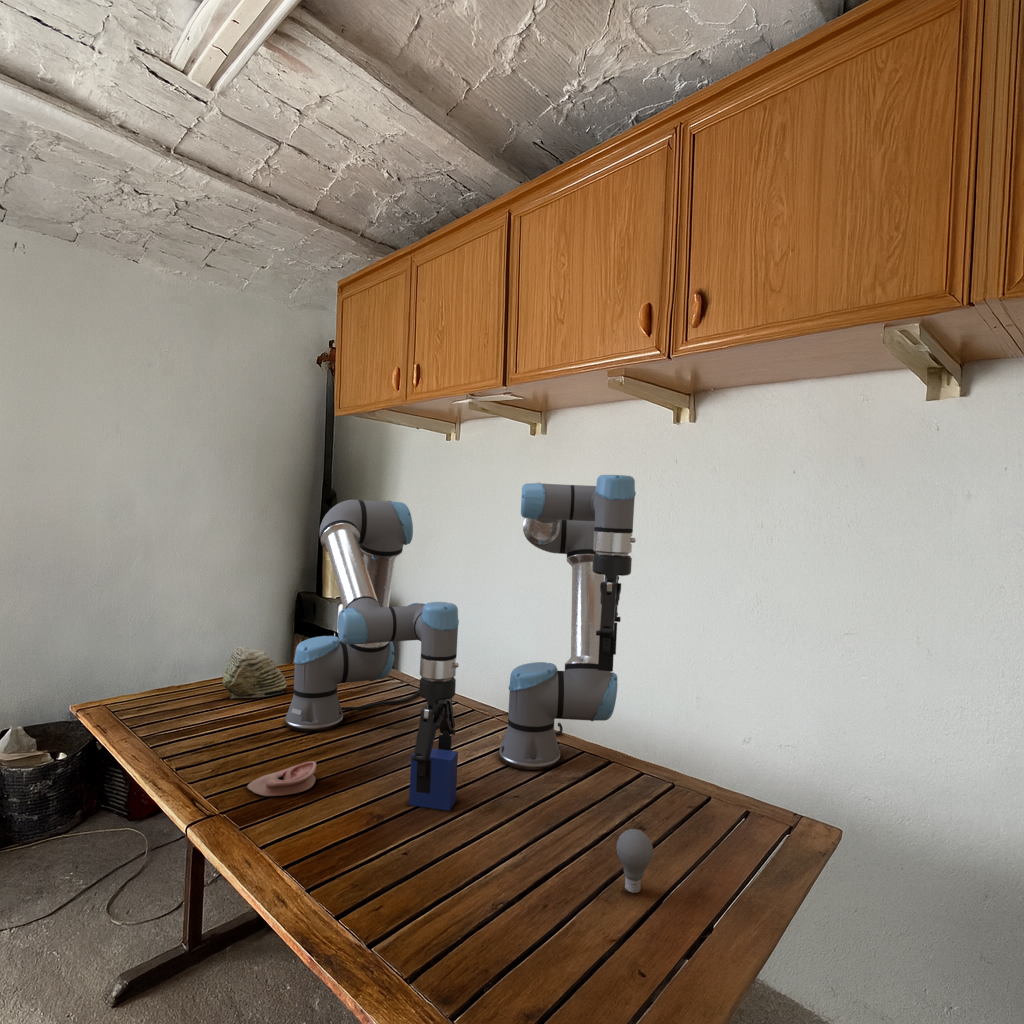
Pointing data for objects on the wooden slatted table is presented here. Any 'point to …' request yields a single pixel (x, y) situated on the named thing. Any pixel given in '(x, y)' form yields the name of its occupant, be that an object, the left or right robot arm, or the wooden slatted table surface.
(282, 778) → the anatomical model
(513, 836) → the wooden slatted table surface
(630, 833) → the light bulb
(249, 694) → the fossil
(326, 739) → the wooden slatted table surface
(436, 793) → the brick
